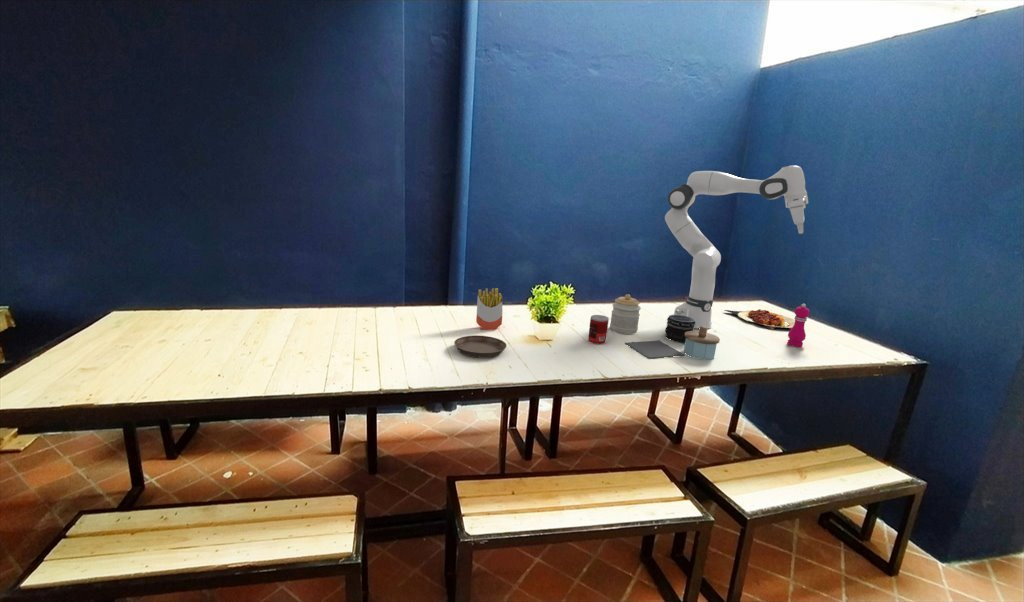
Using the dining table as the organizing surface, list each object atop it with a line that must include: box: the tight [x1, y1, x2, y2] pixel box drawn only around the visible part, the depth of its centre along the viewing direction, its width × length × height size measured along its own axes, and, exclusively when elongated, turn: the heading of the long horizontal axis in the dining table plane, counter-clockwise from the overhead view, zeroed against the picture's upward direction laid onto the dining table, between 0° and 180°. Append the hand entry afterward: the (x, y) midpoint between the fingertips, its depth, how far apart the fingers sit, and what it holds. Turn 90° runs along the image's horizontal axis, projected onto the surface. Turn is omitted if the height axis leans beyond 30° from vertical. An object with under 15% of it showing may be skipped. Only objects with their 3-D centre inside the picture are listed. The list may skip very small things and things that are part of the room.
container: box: [664, 314, 696, 343], centre depth 237 cm, size 13×13×10 cm
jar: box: [609, 293, 642, 335], centre depth 243 cm, size 13×13×18 cm
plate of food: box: [723, 308, 795, 331], centre depth 277 cm, size 31×35×7 cm
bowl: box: [683, 338, 718, 360], centre depth 219 cm, size 12×12×7 cm
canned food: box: [587, 314, 610, 345], centre depth 225 cm, size 8×8×11 cm
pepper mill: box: [787, 303, 811, 348], centre depth 239 cm, size 7×7×20 cm
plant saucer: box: [453, 334, 508, 359], centre depth 206 cm, size 21×21×3 cm
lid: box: [684, 326, 721, 344], centre depth 218 cm, size 14×14×5 cm
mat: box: [624, 339, 686, 360], centre depth 221 cm, size 18×18×1 cm
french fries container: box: [475, 287, 503, 331], centre depth 231 cm, size 5×11×18 cm, turn 106°
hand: (801, 232), depth 231 cm, fingers open, 8 cm apart
